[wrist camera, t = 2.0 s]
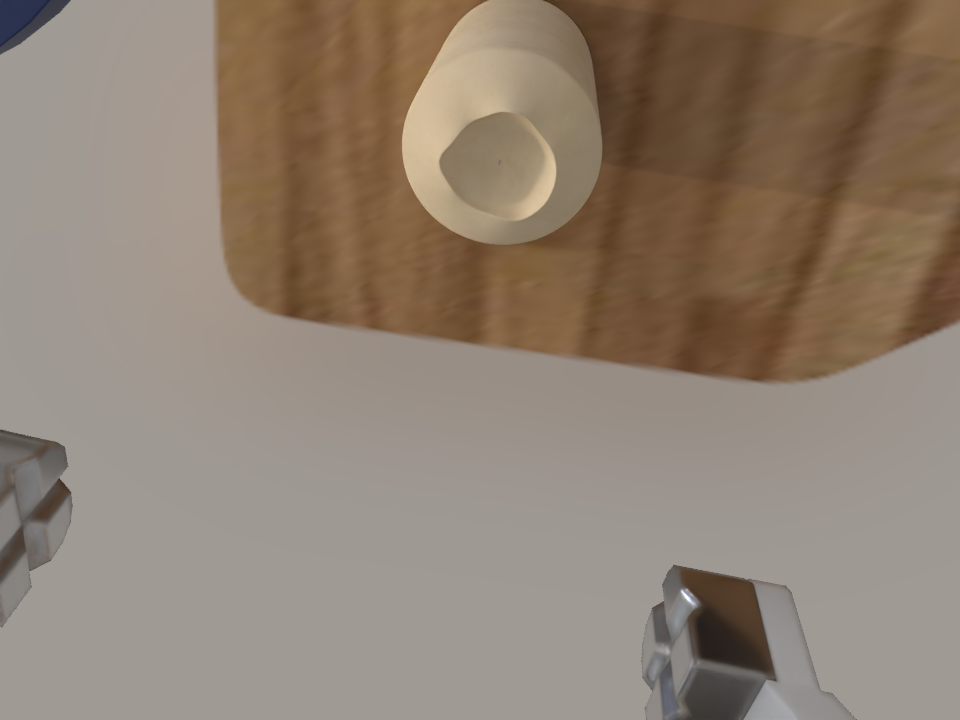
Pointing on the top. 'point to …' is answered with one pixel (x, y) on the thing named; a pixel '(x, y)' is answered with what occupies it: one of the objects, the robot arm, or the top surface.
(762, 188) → the top surface
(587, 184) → the candle
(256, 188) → the top surface
